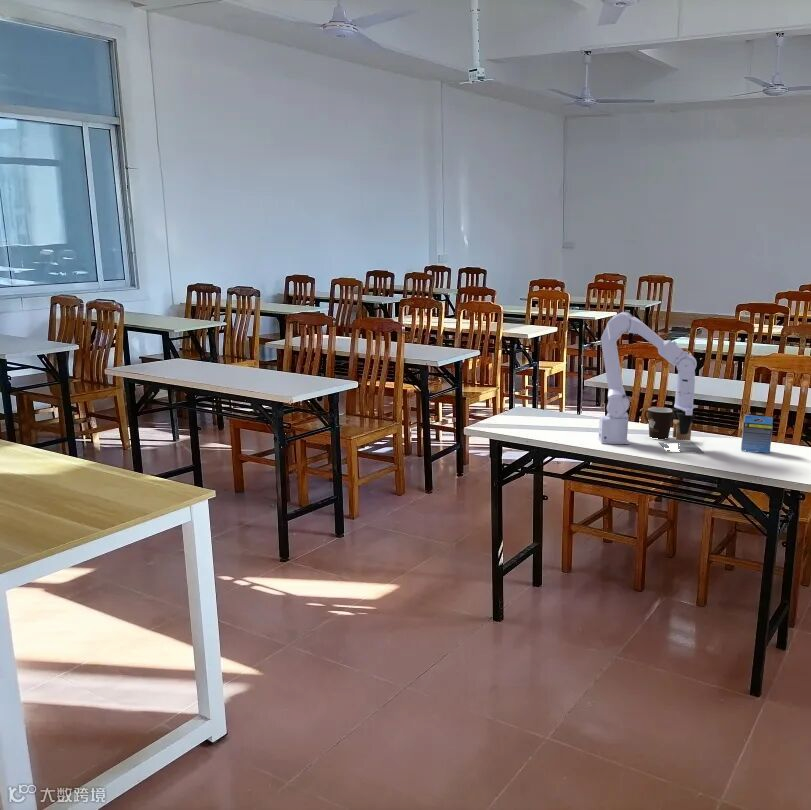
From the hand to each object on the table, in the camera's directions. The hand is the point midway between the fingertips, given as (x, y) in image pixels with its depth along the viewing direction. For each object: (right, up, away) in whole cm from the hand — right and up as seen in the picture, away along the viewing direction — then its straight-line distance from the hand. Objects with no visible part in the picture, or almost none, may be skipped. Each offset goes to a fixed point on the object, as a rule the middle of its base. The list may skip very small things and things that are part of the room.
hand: (681, 432), depth 276 cm
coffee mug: (-3, -2, +17) cm, 17 cm away
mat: (0, -5, +1) cm, 6 cm away
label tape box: (+24, -6, -2) cm, 25 cm away
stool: (0, -2, 0) cm, 2 cm away
